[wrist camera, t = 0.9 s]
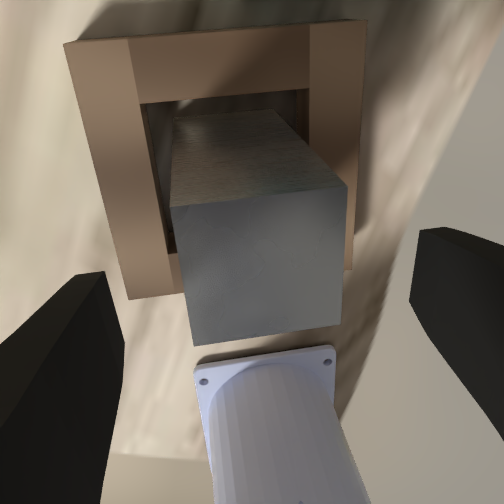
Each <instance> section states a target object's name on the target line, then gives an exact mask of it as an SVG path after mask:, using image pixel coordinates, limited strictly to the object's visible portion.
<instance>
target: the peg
mask: <svg viewBox="0 0 504 504" xmlns="http://www.w3.org/2000/svg"><path fill="white" fill-rule="evenodd" d="M347 195H348V186H347V185H346V184H345V183H344V182H343V181H342V180H341V178H340V177H339V176H338V175H337V174H336V173H335V172H334V171H333V170H332V169H331V168H330V167H329V166H328V165H327V164H326V163H325V162H324V161H323V160H322V159H321V158H320V157H319V156H318V155H317V154H316V153H315V152H314V151H313V150H312V149H311V148H310V147H309V146H308V145H307V144H306V143H305V141H304V140H303V139H302V138H301V137H300V136H299V135H298V134H297V133H296V132H295V131H294V130H293V129H292V128H291V127H290V126H289V125H288V124H287V123H286V122H285V121H284V120H283V119H282V118H281V117H280V116H279V115H278V114H277V113H276V112H275V111H274V110H273V109H272V108H271V109H261V110H251V111H240V112H230V113H220V114H209V115H199V116H189V117H179V118H174V123H173V145H172V167H171V189H170V212H171V218H172V223H173V229H174V235H175V241H176V246H177V252H178V258H179V264H180V269H181V275H182V281H183V287H184V293H185V298H186V304H187V310H188V316H189V321H190V327H191V333H192V339H193V344H194V346H200V345H207V344H214V343H220V342H227V341H234V340H240V339H247V338H254V337H260V336H267V335H274V334H280V333H287V332H294V331H300V330H307V329H314V328H320V327H327V326H334V325H340V324H341V310H342V291H343V272H344V253H345V233H346V214H347Z"/></svg>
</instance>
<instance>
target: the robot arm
mask: <svg viewBox="0 0 504 504" xmlns="http://www.w3.org/2000/svg"><path fill="white" fill-rule="evenodd" d="M409 302H410V304H411V306H412V308H413V310H414V312H415V314H416V316H417V318H418V320H419V321H420V323H421V325H422V327H423V328H424V330H425V332H426V334H427V336H428V337H429V338H430V340H431V341H432V343H433V344H434V345H435V347H436V348H437V349H438V351H439V352H440V354H441V355H442V356H443V358H444V359H445V360H446V362H447V363H448V365H449V366H450V367H451V369H452V370H453V371H454V373H455V374H456V375H457V376H458V378H459V379H460V380H461V382H462V383H463V385H464V386H465V387H466V388H467V390H468V391H469V393H470V394H471V395H472V397H473V398H474V399H475V400H476V402H477V403H478V404H479V406H480V407H481V409H482V410H483V411H484V412H485V414H486V415H487V417H488V418H489V420H490V421H491V423H492V424H493V425H494V427H495V428H496V430H497V431H498V433H499V434H500V436H501V437H502V439H503V441H504V246H503V245H500V244H497V243H495V242H492V241H489V240H486V239H483V238H480V237H478V236H475V235H472V234H469V233H466V232H462V231H459V230H455V229H452V228H447V227H440V228H432V229H424V230H420V233H419V238H418V245H417V252H416V258H415V265H414V271H413V278H412V285H411V291H410V298H409ZM124 349H125V342H124V338H123V335H122V331H121V328H120V324H119V320H118V317H117V313H116V310H115V306H114V303H113V299H112V296H111V292H110V288H109V285H108V281H107V278H106V274H105V271H101V272H93V273H86V274H78V275H75V276H74V277H73V278H71V279H70V280H69V281H68V282H67V283H66V284H65V285H63V286H62V287H61V288H60V289H59V290H58V291H57V292H56V293H55V294H54V295H53V296H52V297H51V298H50V299H49V300H48V301H47V302H46V303H45V304H44V305H43V306H41V307H40V308H39V309H38V310H37V311H36V312H35V313H34V314H33V315H32V316H31V317H30V318H29V319H28V320H27V321H26V322H24V323H23V324H22V325H21V326H20V327H19V328H18V329H17V330H16V331H15V332H14V333H13V334H11V335H10V336H9V337H8V338H7V339H6V340H5V341H3V342H2V343H1V344H0V504H100V499H101V493H102V487H103V481H104V476H105V471H106V466H107V460H108V455H109V450H110V445H111V440H112V435H113V430H114V425H115V420H116V415H117V410H118V404H119V399H120V394H121V388H122V382H123V368H124ZM326 359H328V360H327V361H325V360H326ZM335 370H336V351H335V349H334V347H333V346H331V345H322V346H316V347H309V348H303V349H296V350H290V351H283V352H277V353H270V354H264V355H257V356H251V357H244V358H238V359H231V360H225V361H218V362H212V363H205V364H200V365H197V366H196V367H195V368H194V371H193V374H194V381H195V387H196V392H197V398H198V403H199V408H200V414H201V419H202V425H203V430H204V436H205V441H206V447H207V452H208V458H209V463H210V469H211V472H212V476H213V491H214V504H371V501H370V499H369V496H368V494H367V491H366V489H365V486H364V483H363V481H362V478H361V476H360V473H359V471H358V468H357V466H356V463H355V460H354V458H353V455H352V453H351V450H350V448H349V445H348V443H347V440H346V437H345V435H344V432H343V430H342V427H341V425H340V422H339V420H338V417H337V414H336V412H335V409H334V391H335ZM203 378H204V379H206V380H201V379H203Z"/></svg>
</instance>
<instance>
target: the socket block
mask: <svg viewBox="0 0 504 504" xmlns="http://www.w3.org/2000/svg"><path fill="white" fill-rule="evenodd" d="M366 35H367V20H353V19H344V20H331V21H318V22H305V23H292V24H279V25H266V26H254V27H241V28H228V29H215V30H202V31H189V32H176V33H163V34H151V35H138V36H125V37H112V38H99V39H86V40H75V41H72V42H68V43H65V44H63V47H64V51H65V55H66V59H67V63H68V66H69V70H70V74H71V78H72V82H73V86H74V90H75V94H76V98H77V101H78V105H79V109H80V113H81V117H82V121H83V125H84V129H85V133H86V136H87V140H88V144H89V148H90V152H91V156H92V160H93V164H94V168H95V171H96V175H97V179H98V183H99V187H100V191H101V195H102V199H103V203H104V206H105V210H106V214H107V218H108V222H109V226H110V230H111V234H112V238H113V241H114V245H115V249H116V253H117V257H118V261H119V265H120V269H121V273H122V276H123V280H124V284H125V288H126V292H127V296H128V300H134V299H141V298H148V297H156V296H163V295H170V294H177V293H184V287H183V281H182V275H181V269H180V264H179V258H178V252H177V246H176V241H175V235H174V232H171V233H169V232H168V227H167V221H166V216H165V210H164V204H163V199H162V193H161V188H160V182H159V177H158V171H157V166H156V160H155V155H154V149H153V144H152V138H151V133H150V127H149V122H148V116H147V111H146V105H145V103H154V102H165V101H176V100H186V99H197V98H208V97H219V96H229V95H240V94H251V93H262V92H272V91H283V90H294V89H296V104H297V134H298V135H299V136H300V137H301V138H302V139H303V140H304V141H305V143H306V144H307V145H308V146H309V147H310V148H311V149H312V150H313V151H314V152H315V153H316V154H317V155H318V156H319V157H320V158H321V159H322V160H323V161H324V162H325V163H326V164H327V165H328V166H329V167H330V168H331V169H332V170H333V171H334V172H335V173H336V174H337V175H338V176H339V177H340V178H341V180H342V181H343V182H344V183H345V184H346V185H347V186H348V195H347V214H346V233H345V253H344V271H345V270H352V254H353V239H354V223H355V207H356V192H357V176H358V160H359V145H360V129H361V113H362V98H363V82H364V66H365V50H366Z"/></svg>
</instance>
